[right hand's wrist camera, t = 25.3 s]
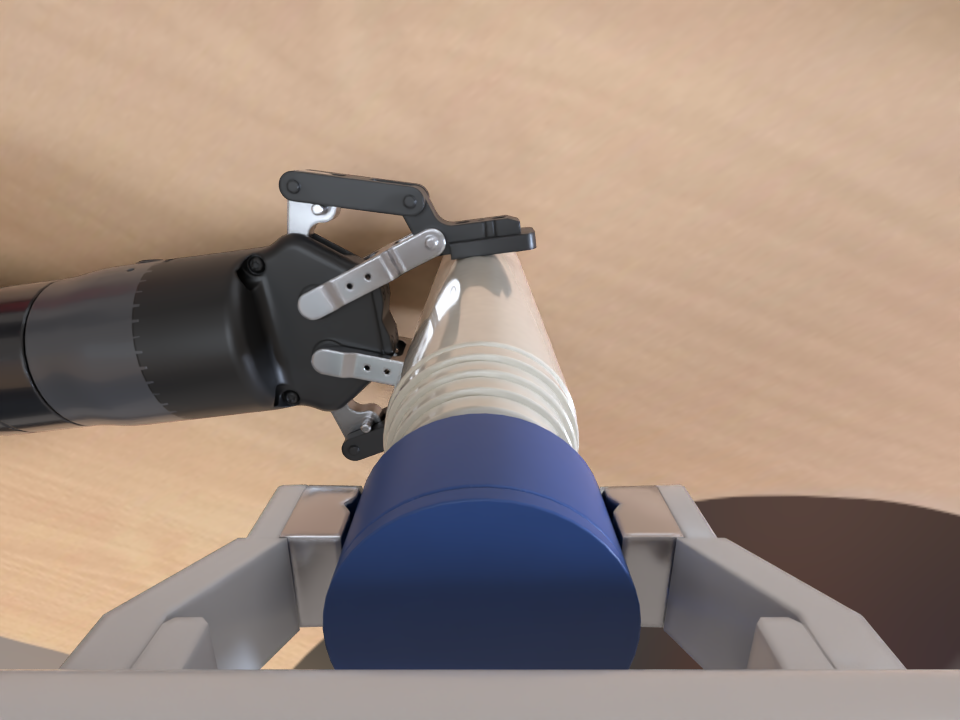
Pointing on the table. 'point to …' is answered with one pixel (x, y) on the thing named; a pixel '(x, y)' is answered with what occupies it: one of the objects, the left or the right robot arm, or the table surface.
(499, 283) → the bottle
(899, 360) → the table surface
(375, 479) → the cap
